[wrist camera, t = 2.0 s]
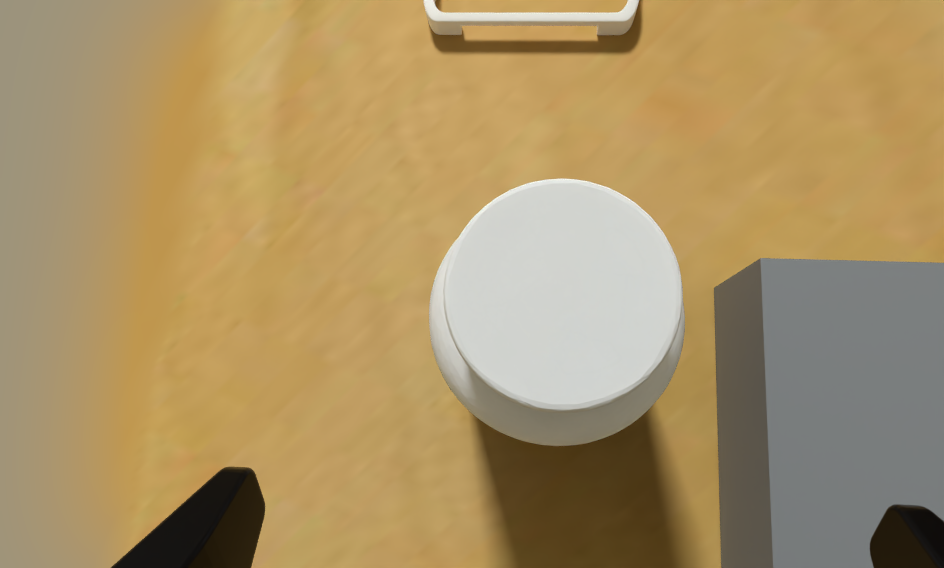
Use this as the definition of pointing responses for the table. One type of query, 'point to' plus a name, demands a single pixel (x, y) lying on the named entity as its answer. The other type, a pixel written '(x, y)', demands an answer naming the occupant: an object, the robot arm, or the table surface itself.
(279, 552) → the table surface
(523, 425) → the pill bottle
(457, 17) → the phone case
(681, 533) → the table surface
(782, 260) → the slate block
